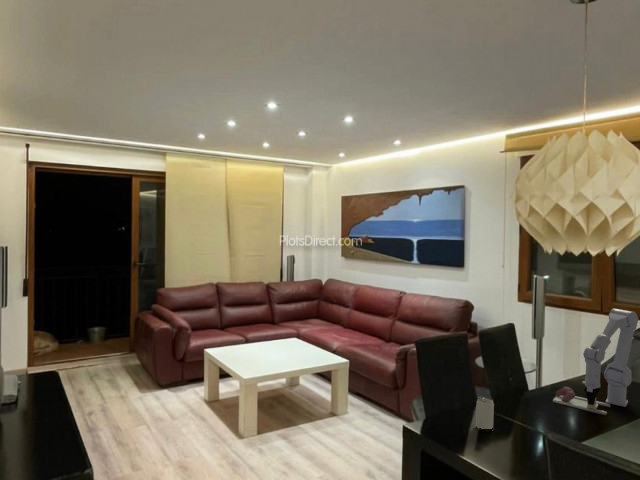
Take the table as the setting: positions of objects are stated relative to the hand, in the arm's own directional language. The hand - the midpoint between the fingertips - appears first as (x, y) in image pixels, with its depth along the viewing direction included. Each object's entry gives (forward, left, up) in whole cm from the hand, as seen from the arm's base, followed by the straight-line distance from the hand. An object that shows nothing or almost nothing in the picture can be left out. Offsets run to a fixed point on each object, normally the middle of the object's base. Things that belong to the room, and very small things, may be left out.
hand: (591, 403), depth 200 cm
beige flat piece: (0, -7, -2) cm, 7 cm away
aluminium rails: (0, -4, -2) cm, 4 cm away
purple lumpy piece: (0, -11, -1) cm, 11 cm away
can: (+59, -28, -2) cm, 65 cm away
